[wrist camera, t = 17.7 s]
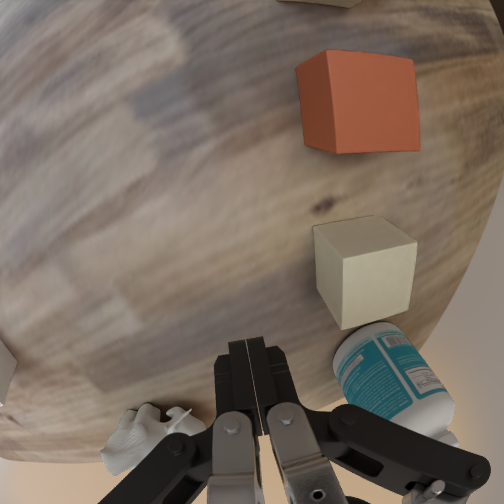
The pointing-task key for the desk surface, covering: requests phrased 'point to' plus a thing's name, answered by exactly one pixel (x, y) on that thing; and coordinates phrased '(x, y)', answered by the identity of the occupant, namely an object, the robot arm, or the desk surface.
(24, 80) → the desk surface
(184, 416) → the elephant figurine
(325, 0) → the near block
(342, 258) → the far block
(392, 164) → the desk surface
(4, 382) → the bracket
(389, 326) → the pill bottle
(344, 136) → the block
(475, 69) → the desk surface
